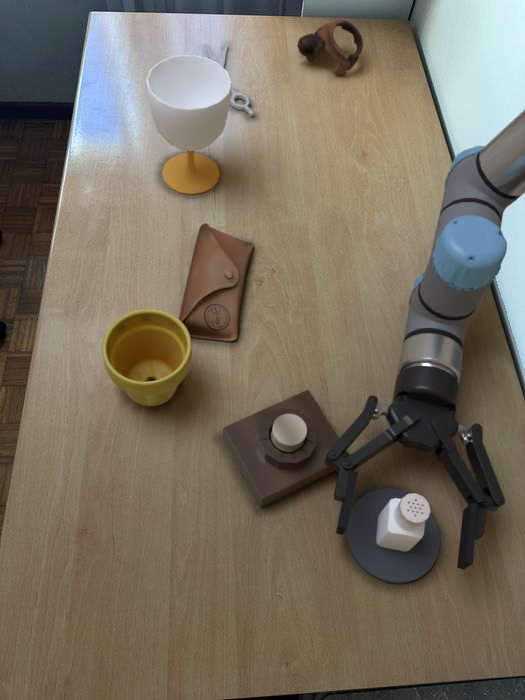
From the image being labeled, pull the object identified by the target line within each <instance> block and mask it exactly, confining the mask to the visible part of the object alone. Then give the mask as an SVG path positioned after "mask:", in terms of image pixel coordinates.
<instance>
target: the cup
mask: <svg viewBox="0 0 525 700" xmlns="http://www.w3.org/2000/svg"><path fill="white" fill-rule="evenodd" d="M145 82H146V83H145V84H146V92H147V98H148V103H149V107H150V112H151V116H152V119H153V124H154V126H155V128H156V130H157V133H158V134H159V135H161V137H162V138H163V139H164V140H165V141H166V142H167V143H168V144H169V145H170V146H171V147H175V148H176V149H178V150H181V151H186V152H185V153H184V152H183V153H179V154H177V155H174V156H172V157H170V159H168V160H167V161H166V162H165V163H164V165H163V168H162V172H161V174H162V178H163V182H164V183H165V184H166V185H167V186H168V187H169V188H170V189H172V190H174V191H176V192H178V193H180V194H185V195H198V194H203V193H206V192H207V191H209V190H211V189H213V188H214V187H215V186H216V184H217V183H219V180H220V179H219V178H220V174H221V173H220V171H219V170H220V169H219V167H218V164H217V163H216V162H214V160H213V159H212V158H210V157H208V156H206V155H204V154H202V153H195V151H201V150H203V149H206V148H209V147H210V146H212V144H213V143H214V142H215V141H216V140H217V139H218V138H219V137H220V136H221V135H222V134H223V131H224V128H225V126H226V123H227V119H228V115H229V109H230V105H231V104H230V100H231V97H232V93H231V90H232V87H233V82H232V78H231V76H230V74H229V72H228V71H227V70H226V69H225V68H224V67H222V66H221V65H220V64H219V62H217V61H216V62H214V61H212V60H210V58H208V57H206V56H200V55H194V54H184V55H173V56H170V57H168V58H165V59H163V60H160V61H158V62H157V63H156V64H154V66H153V67H151V68H150V70H149V72H148V74H147V77H146V80H145Z"/></svg>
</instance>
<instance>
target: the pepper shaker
mask: <svg viewBox="0 0 525 700" xmlns="http://www.w3.org/2000/svg"><path fill="white" fill-rule="evenodd" d="M430 512H431V506H430V503H429V501H428V500H427V499H426V498H425V497H424V496H423V495H420V494H419V493H415V492H414V493H409V494H408V495H406V496H405V497H403V498H402V499H398V498H394V499H391V500H390V501H389V502H388V504H387V505H386V506H385V508H384V509H383V510H382V512H381V513H380V514H379V516H378V524H377V536H376V542H377V545H379V546H380V547H385V548H390V549H395V550H400V551H405V552H406V551H409V550H410V549H411V548H412V547H413V546H414V545H415V544H416V543H417V542H418V541H419V540H421V539H422V537H423V535H424V528H425V521H426V520H427V519H428V517H429V514H430Z"/></svg>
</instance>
